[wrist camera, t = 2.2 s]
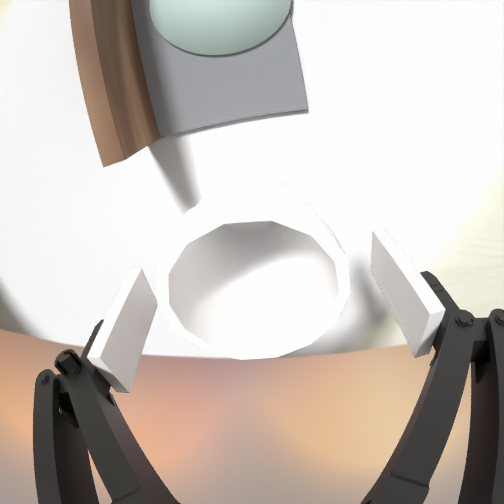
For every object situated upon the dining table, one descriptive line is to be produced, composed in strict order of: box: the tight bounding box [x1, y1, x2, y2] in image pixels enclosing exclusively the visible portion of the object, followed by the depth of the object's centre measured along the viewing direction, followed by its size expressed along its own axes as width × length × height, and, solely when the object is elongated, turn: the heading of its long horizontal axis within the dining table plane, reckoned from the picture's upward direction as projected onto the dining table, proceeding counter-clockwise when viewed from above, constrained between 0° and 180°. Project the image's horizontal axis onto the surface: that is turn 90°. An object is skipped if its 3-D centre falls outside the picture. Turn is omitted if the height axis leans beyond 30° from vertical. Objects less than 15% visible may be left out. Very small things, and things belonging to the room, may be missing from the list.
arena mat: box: [131, 0, 308, 138], centre depth 15 cm, size 12×22×1 cm, turn 10°
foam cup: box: [156, 164, 351, 360], centre depth 19 cm, size 10×9×13 cm
